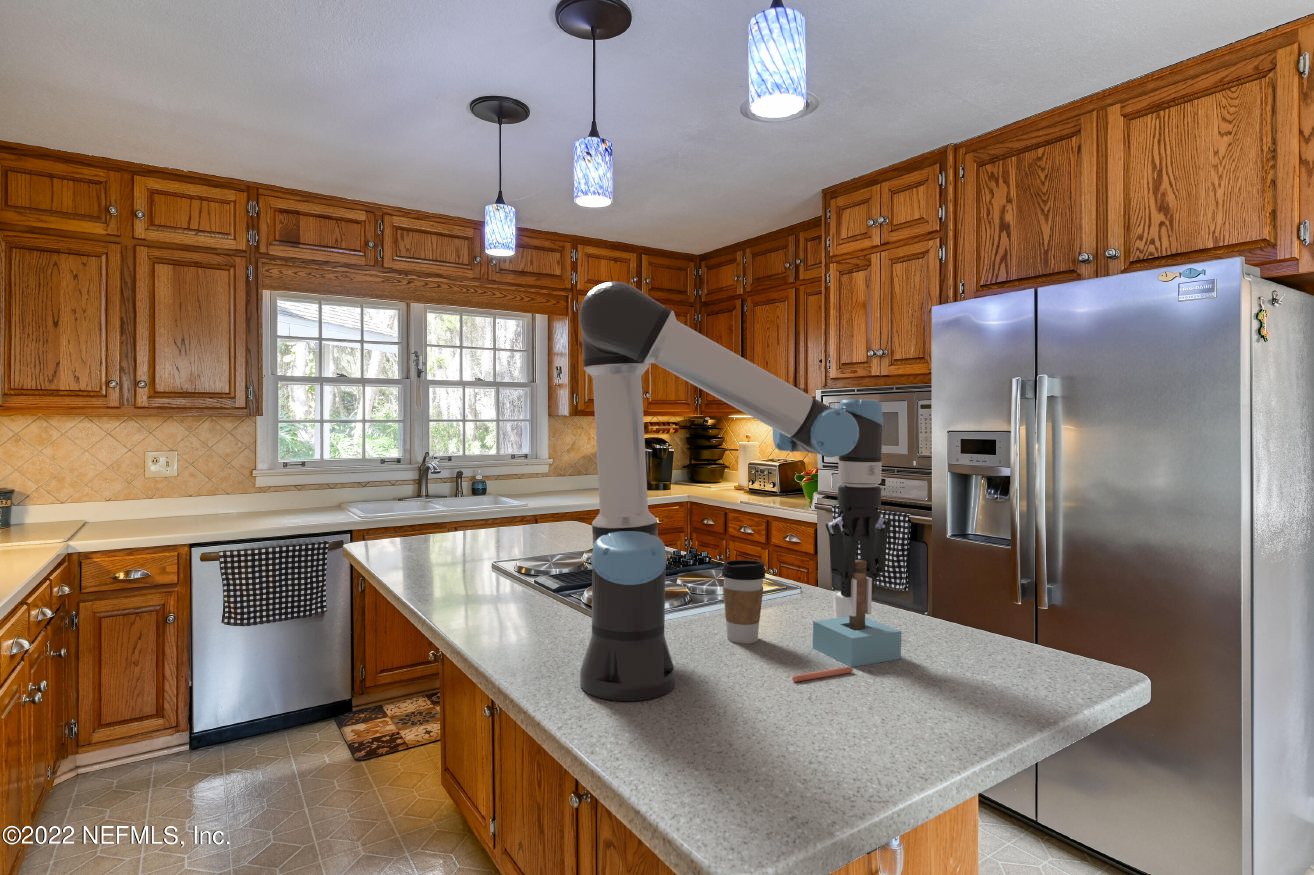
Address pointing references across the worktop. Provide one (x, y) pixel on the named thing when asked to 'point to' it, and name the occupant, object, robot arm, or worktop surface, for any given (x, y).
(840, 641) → the blue square hole block
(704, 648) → the worktop surface
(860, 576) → the round wooden peg
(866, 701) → the worktop surface
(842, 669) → the salmon red rod
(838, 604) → the white cylinder
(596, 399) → the robot arm
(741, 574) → the coffee cup
